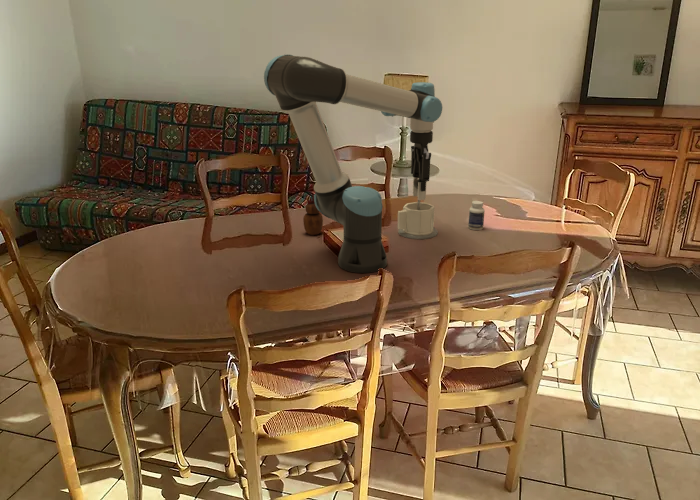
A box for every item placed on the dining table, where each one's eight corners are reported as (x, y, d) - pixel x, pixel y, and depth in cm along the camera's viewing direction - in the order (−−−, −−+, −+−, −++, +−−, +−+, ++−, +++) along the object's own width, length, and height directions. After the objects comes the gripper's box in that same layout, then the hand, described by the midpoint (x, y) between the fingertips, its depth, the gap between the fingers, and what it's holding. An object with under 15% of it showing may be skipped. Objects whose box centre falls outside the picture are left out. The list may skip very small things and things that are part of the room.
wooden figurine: (324, 231, 212) (323, 190, 207) (321, 236, 207) (320, 195, 202) (305, 230, 213) (303, 190, 208) (302, 236, 208) (301, 194, 202)
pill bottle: (484, 230, 212) (486, 204, 208) (469, 230, 212) (471, 204, 208) (481, 225, 217) (483, 200, 213) (466, 225, 217) (468, 200, 213)
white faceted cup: (407, 241, 201) (408, 215, 198) (389, 229, 213) (389, 204, 210) (445, 235, 207) (446, 209, 203) (424, 223, 219) (425, 199, 215)
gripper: (441, 134, 190) (438, 204, 199) (423, 125, 206) (420, 190, 214) (419, 135, 188) (417, 205, 197) (402, 126, 204) (401, 191, 213)
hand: (419, 197), depth 206 cm, fingers closed on plunger, 4 cm apart
